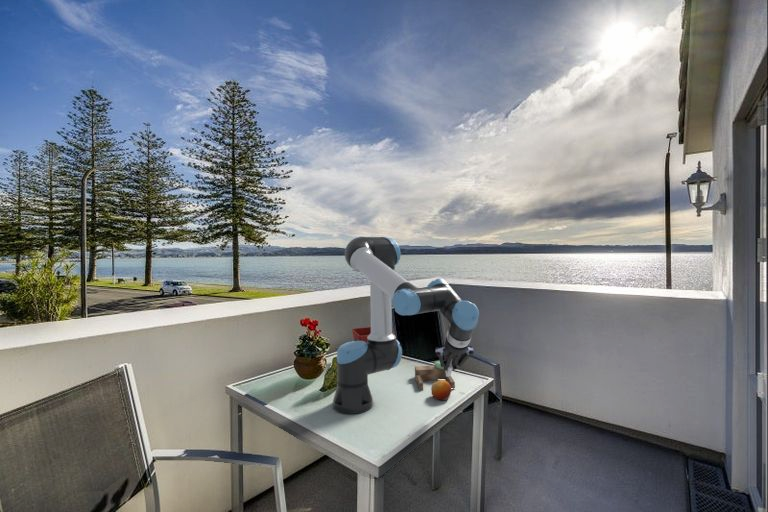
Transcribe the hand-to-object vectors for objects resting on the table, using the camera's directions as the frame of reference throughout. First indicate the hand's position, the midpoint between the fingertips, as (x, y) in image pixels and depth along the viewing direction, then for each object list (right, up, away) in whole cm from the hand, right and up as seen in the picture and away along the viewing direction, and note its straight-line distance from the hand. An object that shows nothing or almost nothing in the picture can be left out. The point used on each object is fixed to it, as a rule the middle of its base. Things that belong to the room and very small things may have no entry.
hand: (447, 373), depth 122 cm
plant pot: (-29, -14, +57) cm, 66 cm away
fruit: (-1, -14, +10) cm, 17 cm away
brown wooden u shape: (-1, -14, +23) cm, 27 cm away
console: (-1, -14, +31) cm, 34 cm away
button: (+3, -13, +31) cm, 34 cm away
